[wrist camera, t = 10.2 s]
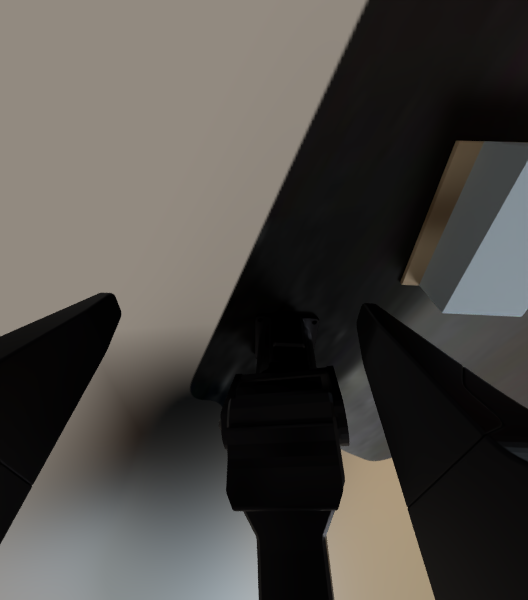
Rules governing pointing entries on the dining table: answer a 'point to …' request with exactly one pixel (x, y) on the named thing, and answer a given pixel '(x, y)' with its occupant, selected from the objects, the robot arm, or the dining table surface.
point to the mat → (441, 208)
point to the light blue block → (485, 239)
